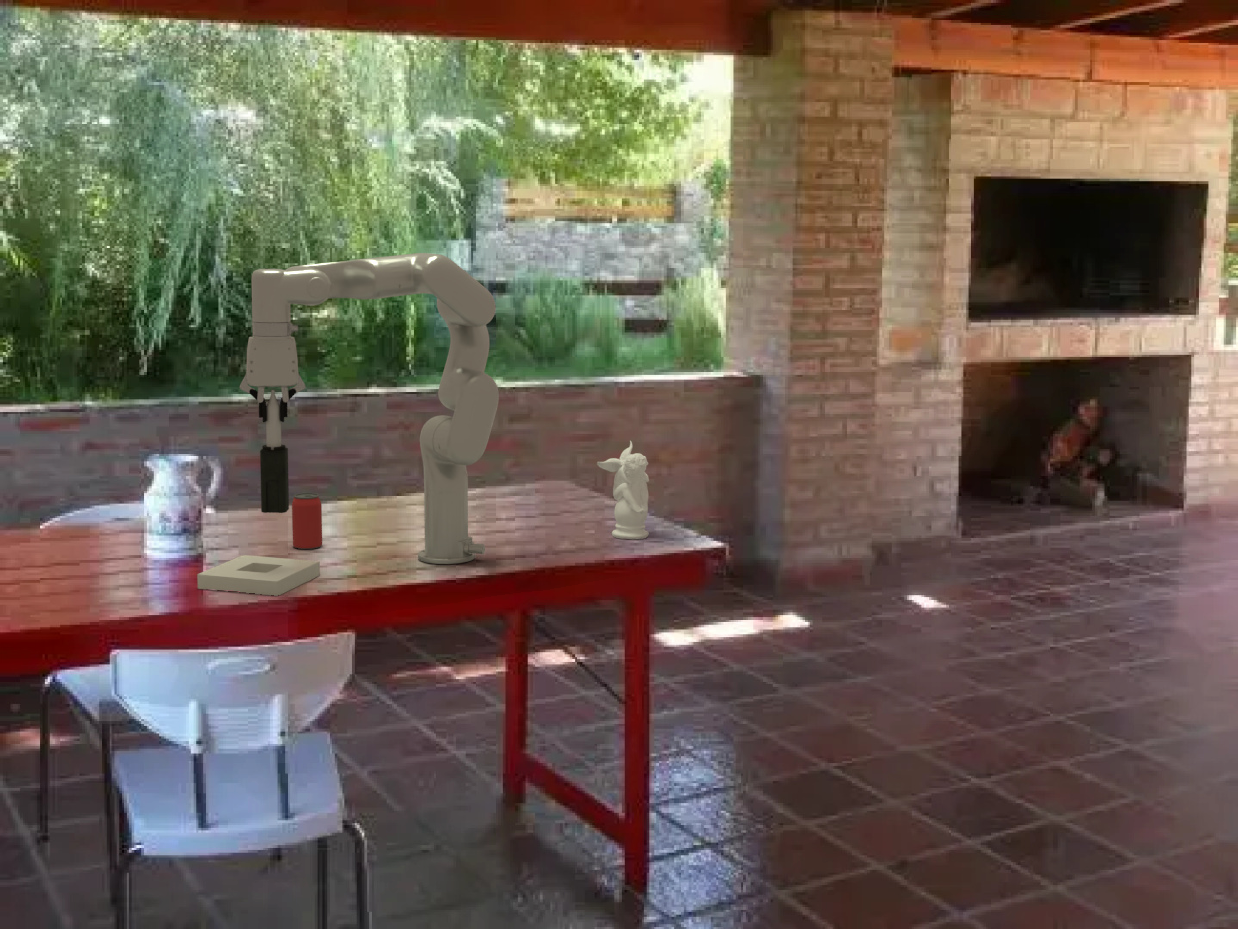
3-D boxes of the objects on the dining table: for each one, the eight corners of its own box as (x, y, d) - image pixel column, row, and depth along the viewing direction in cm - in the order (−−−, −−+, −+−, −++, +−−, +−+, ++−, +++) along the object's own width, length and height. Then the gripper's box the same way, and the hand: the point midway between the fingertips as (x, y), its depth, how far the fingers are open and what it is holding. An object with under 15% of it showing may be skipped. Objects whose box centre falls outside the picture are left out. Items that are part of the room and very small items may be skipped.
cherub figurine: (649, 542, 364) (650, 448, 360) (595, 541, 364) (596, 448, 360) (647, 529, 376) (649, 439, 372) (596, 529, 376) (597, 439, 372)
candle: (289, 508, 324) (287, 388, 320) (285, 513, 319) (283, 391, 314) (264, 507, 324) (262, 387, 319) (260, 512, 318) (257, 390, 314)
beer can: (315, 551, 351) (314, 498, 349) (288, 549, 352) (286, 497, 350) (326, 544, 357) (325, 493, 355) (299, 543, 358) (298, 491, 356)
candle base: (319, 575, 329) (319, 561, 328) (277, 596, 312) (277, 581, 311) (243, 568, 334) (243, 555, 333) (197, 588, 317) (197, 574, 316)
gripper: (312, 329, 320) (313, 418, 324) (229, 329, 317) (232, 419, 320) (313, 332, 313) (315, 423, 316) (229, 332, 309) (231, 424, 313)
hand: (273, 420), depth 318 cm, fingers closed on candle, 3 cm apart
